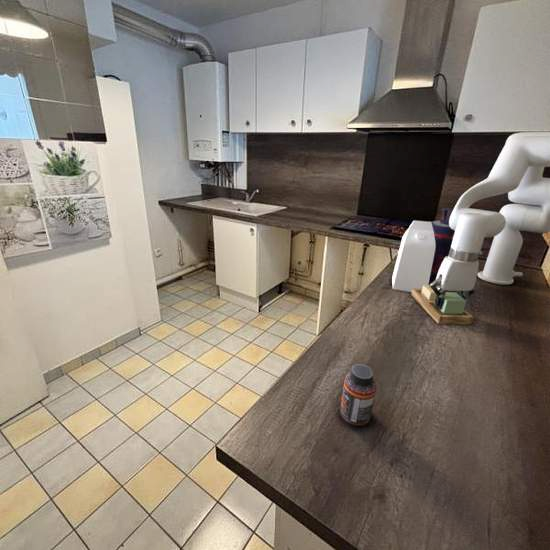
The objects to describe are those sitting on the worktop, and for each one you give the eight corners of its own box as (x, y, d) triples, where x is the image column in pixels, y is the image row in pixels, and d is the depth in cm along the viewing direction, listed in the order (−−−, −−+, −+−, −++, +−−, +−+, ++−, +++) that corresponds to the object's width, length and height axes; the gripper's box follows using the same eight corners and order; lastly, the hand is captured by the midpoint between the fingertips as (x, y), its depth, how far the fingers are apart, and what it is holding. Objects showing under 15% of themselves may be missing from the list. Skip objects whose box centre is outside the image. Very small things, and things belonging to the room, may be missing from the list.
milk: (422, 282, 120) (438, 220, 110) (426, 294, 110) (443, 226, 100) (391, 278, 123) (403, 217, 113) (392, 289, 113) (405, 223, 103)
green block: (452, 304, 97) (455, 292, 96) (462, 313, 92) (466, 301, 90) (434, 304, 97) (437, 292, 96) (443, 313, 92) (447, 300, 90)
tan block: (436, 296, 107) (439, 285, 105) (445, 304, 101) (448, 292, 100) (420, 296, 107) (422, 285, 105) (428, 304, 101) (430, 292, 100)
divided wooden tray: (438, 295, 109) (440, 289, 108) (471, 324, 91) (474, 317, 90) (411, 294, 109) (412, 288, 108) (438, 323, 91) (440, 316, 90)
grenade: (418, 283, 119) (435, 209, 108) (416, 272, 129) (432, 204, 118) (456, 289, 115) (478, 212, 103) (452, 278, 125) (472, 207, 113)
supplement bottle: (336, 403, 61) (342, 360, 57) (363, 402, 61) (371, 359, 57) (344, 428, 55) (352, 382, 51) (374, 426, 56) (384, 381, 52)
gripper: (483, 251, 91) (467, 302, 98) (428, 250, 91) (416, 301, 98) (500, 259, 84) (482, 314, 91) (441, 258, 84) (427, 312, 91)
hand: (448, 307), depth 94 cm, fingers closed on green block, 5 cm apart
